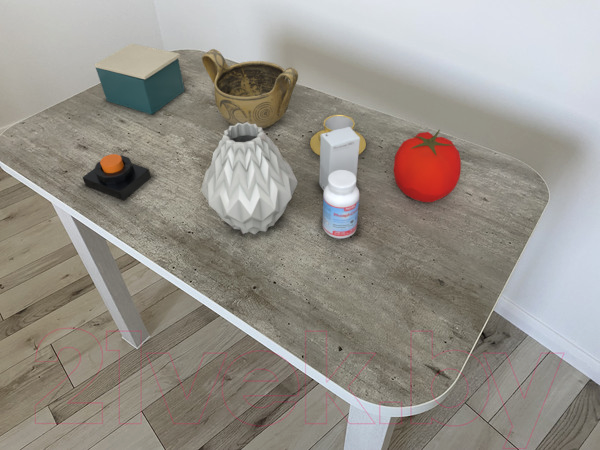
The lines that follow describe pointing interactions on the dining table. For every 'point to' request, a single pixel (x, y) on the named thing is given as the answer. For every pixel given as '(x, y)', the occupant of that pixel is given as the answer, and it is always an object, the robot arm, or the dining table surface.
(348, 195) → the pill bottle
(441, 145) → the tomato
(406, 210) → the dining table surface
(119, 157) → the flush button
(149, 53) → the beige flat rectangular panel
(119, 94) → the teal hollow open box
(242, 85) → the ceramic bowl
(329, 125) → the cup
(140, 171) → the push button housing
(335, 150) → the cosmetic box
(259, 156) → the vase
